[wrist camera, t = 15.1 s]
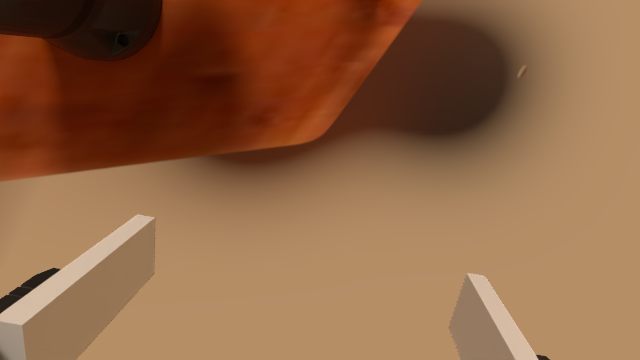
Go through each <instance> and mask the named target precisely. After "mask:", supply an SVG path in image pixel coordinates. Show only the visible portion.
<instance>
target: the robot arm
mask: <svg viewBox="0 0 640 360" xmlns="http://www.w3.org/2000/svg"><path fill="white" fill-rule="evenodd" d="M160 12H161V0H0V34H6V35H16V36H26V37H37V38H42V39H44V40H46V41H48V42H50V43H51V44H53V45H55V46H57V47H59V48H61V49H63V50H64V51H66V52H68V53H70V54H73V55H75V56H78V57H81V58H85V59H91V60H103V61H113V60H120V59H123V58H126V57H129V56H131V55H133V54H134V53H136V52H137V51H139V50H140V49H141V48H142V47H143V46H144V45H145V44H146V43H147V42H148V41H149V39H150V38H151V37H152V35H153V33H154V31H155V29H156V27H157V24H158V21H159V17H160ZM154 255H155V217H150V216H145V215H139V214H137V215H136V216H134V217H133V218H132V219H130V220H129V221H127V222H126V223H125V224H123V225H122V226H120V227H119V228H118V229H116V230H115V231H114V232H112V233H111V234H110V235H108V236H107V237H105V238H104V239H102V240H101V241H100V242H98V243H97V244H96V245H94V246H93V247H91V248H90V249H89V250H87V251H86V252H85V253H83V254H82V255H81V256H79V257H78V258H76V259H75V260H74V261H72V262H71V263H70V264H68V265H67V266H65V267H64V268H63V269H56V268H52V269H49V270H47V271H44V272H42V273H40V274H37V275H35V276H33V277H32V278H31V279H29V280H28V281H26V282H25V283H23V284H22V285H21V287H17V288H16V289H15V290H13V291H11V292H10V293H9V295H6V296H4V297H3V298H1V299H0V360H76V359H77V358H78V357H79V356H80V355H81V354H82V352H83V351H84V350H85V349H86V348H87V347H88V346H89V345H90V344H91V342H92V341H93V340H94V339H95V338H96V337H97V336H98V335H99V334H100V333H101V332H102V330H103V329H104V328H105V327H106V326H107V325H108V324H109V323H110V321H112V319H113V318H114V317H115V316H116V315H117V314H118V313H119V312H120V311H121V309H123V307H124V306H125V305H126V304H127V303H128V302H129V301H130V300H131V299H132V298H133V296H134V295H135V294H136V293H137V292H138V291H139V290H140V289H141V288H142V286H143V285H144V284H145V283H146V282H147V281H148V280H149V279H150V278H151V277H152V276H153V275H154ZM449 329H450V332H451V334H452V337H453V340H454V342H455V345H456V348H457V350H458V353H459V355H460V358H461V360H550V359H548V358H547V357H546V356H541V355H535V353H534V352H533V350H532V349H531V347H530V345H529V344H528V342H527V341H526V339H525V338H524V336H523V334H522V333H521V331H520V330H519V328H518V327H517V325H516V324H515V322H514V320H513V319H512V317H511V316H510V314H509V313H508V311H507V310H506V308H505V306H504V305H503V303H502V302H501V300H500V299H499V297H498V296H497V294H496V293H495V291H494V289H493V288H492V286H491V285H490V283H489V282H488V280H487V278H486V277H485V276H481V275H475V274H470V273H466V276H465V279H464V282H463V285H462V289H461V292H460V295H459V298H458V301H457V304H456V307H455V310H454V313H453V316H452V319H451V322H450V325H449Z"/></svg>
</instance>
